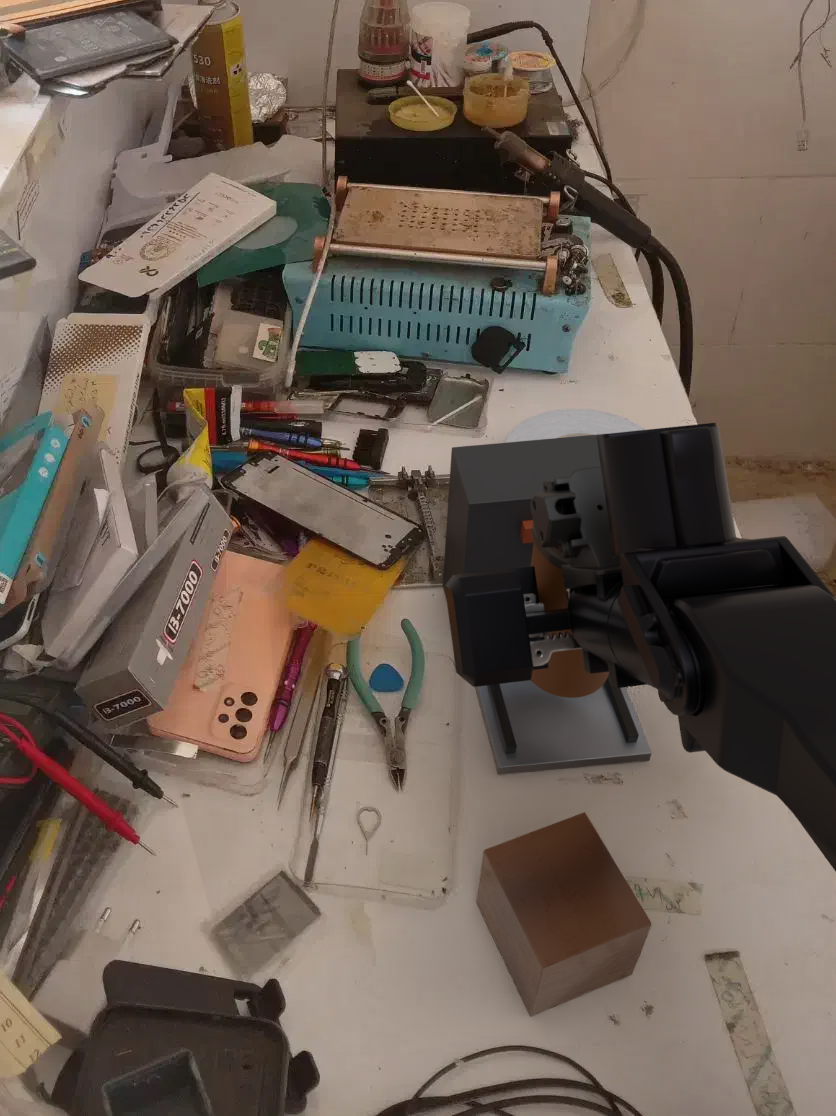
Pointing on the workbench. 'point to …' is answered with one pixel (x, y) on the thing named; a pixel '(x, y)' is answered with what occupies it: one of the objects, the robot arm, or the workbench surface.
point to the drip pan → (560, 728)
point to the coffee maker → (503, 499)
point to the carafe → (565, 665)
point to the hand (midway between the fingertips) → (565, 597)
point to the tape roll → (570, 425)
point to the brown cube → (560, 913)
